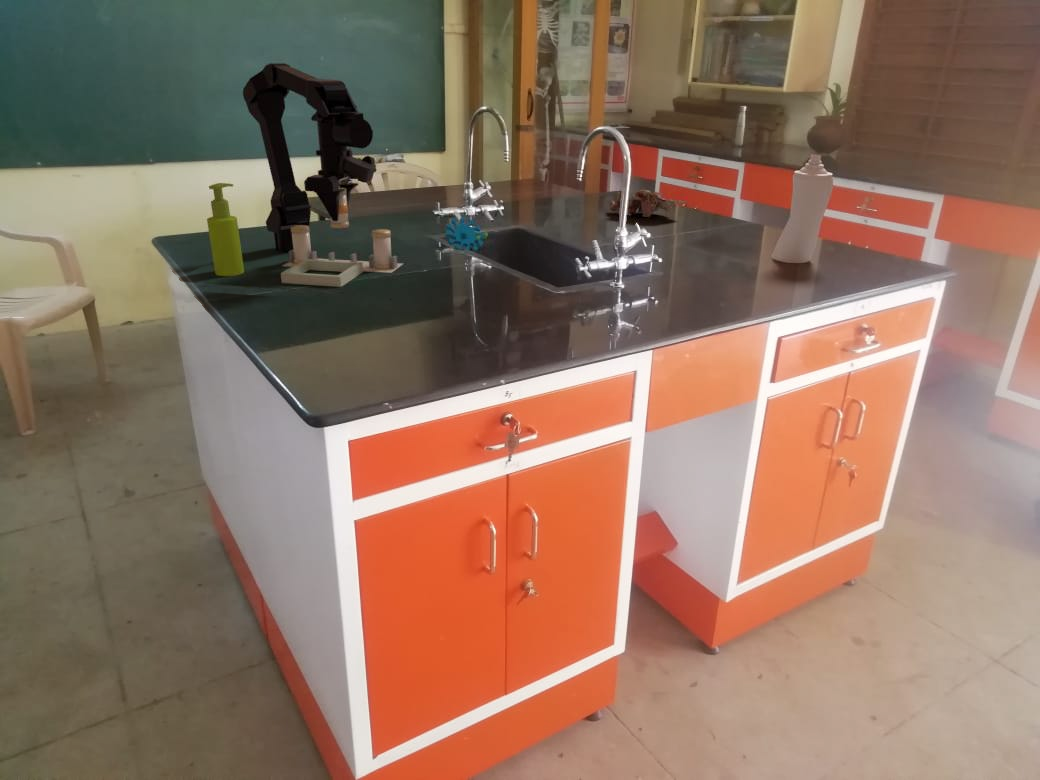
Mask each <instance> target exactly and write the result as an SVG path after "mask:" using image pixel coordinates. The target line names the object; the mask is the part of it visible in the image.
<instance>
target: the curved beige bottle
mask: <svg viewBox="0 0 1040 780" xmlns="http://www.w3.org/2000/svg"><path fill="white" fill-rule="evenodd" d="M821 158H822V155H821V154H816V153H815V154H810V158H809V159H808V162H806V163H805V165H804V167H801V168H800V170H795V171H794V174H793V175H792V192H791V195H792V196H791V204H790V215H789V219H788V220H787V222H786V224H785V227H784V229H783V231H782V233H781V235H780V237H779V239H778V241H777V243H776V245H775V247H774V250H773V252H772V255H771V259H773V260H775V261H777V262H781V263H788V264H805V263H809V262H810V260H811V258H812V256H813V254H814V252H815V250H816V246H817V242H818V238H819V235H820V234H819V233H820V229H821V225H822V220H823V218H824V216H825V213H826V209H827V206H828V205H829V202H830V199H831V196H832V193H833V192H834V177H833V173H832V172H829V171H827V169H825V168H824V167H825V164H822V163H823V162H822V160H821Z"/></svg>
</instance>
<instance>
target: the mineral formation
mask: <svg viewBox="0 0 1040 780" xmlns="http://www.w3.org/2000/svg"><path fill="white" fill-rule="evenodd" d="M661 195H662V194H661V193H660V192H658V191H654V192H651V190H649V189H645V188H641V189H640V190H639V191H636V192H635V193H634V194H633V195H632V197H631V196H630V199H629V207H628V215H629V214H630V216H632V215H633V213H635V214H637V212H639V213H641V212H642V216H644V217H649V218H650V217H651V216H652V214H654V213H655V212H657V211H660V210H661V209H662V210H664V211H665V212H666V214H667V212H668V211H670V210H671V209H672V207H674V206H673V205H675V204H685V200H680V199H679V200H674V199H666V198H663V197H662V196H661ZM617 196H618V197H617V200H615V201H614V200H611V201H610V204H609V211H611V212H615V213H616V214H617V215H619V208H620V198H621V189H620V190H619V191H618V193H617ZM636 210H638V211H636ZM628 215H627V216H628Z"/></svg>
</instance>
